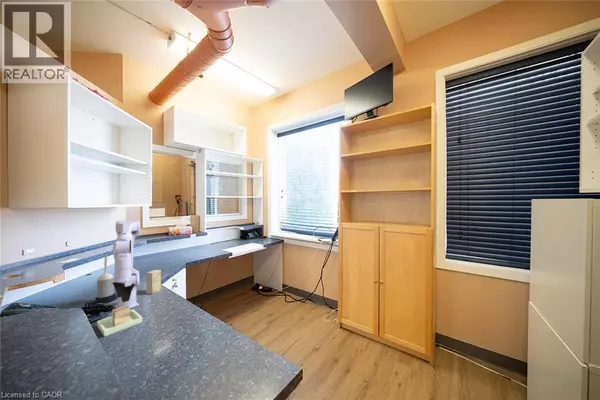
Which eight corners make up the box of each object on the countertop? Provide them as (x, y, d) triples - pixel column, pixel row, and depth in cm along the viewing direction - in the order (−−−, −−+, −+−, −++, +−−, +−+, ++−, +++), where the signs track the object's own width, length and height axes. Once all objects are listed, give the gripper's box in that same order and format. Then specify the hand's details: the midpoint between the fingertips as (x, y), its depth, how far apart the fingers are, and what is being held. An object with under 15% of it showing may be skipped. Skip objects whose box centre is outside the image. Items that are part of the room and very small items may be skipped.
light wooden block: (152, 294, 123) (152, 273, 124) (145, 293, 124) (145, 272, 125) (161, 290, 130) (161, 269, 130) (155, 289, 131) (155, 269, 131)
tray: (97, 326, 91) (97, 321, 91) (133, 313, 101) (133, 309, 101) (104, 337, 84) (104, 331, 84) (142, 322, 94) (142, 317, 94)
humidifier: (117, 296, 121) (117, 252, 122) (112, 302, 114) (112, 255, 114) (99, 299, 118) (99, 254, 118) (92, 305, 110) (92, 257, 111)
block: (112, 324, 92) (112, 309, 92) (127, 318, 96) (126, 305, 96) (115, 327, 90) (115, 312, 90) (129, 321, 94) (129, 307, 94)
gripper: (107, 267, 95) (107, 298, 95) (115, 273, 87) (115, 307, 86) (127, 263, 101) (127, 292, 101) (137, 269, 92) (137, 300, 92)
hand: (123, 299), depth 94 cm, fingers open, 7 cm apart
